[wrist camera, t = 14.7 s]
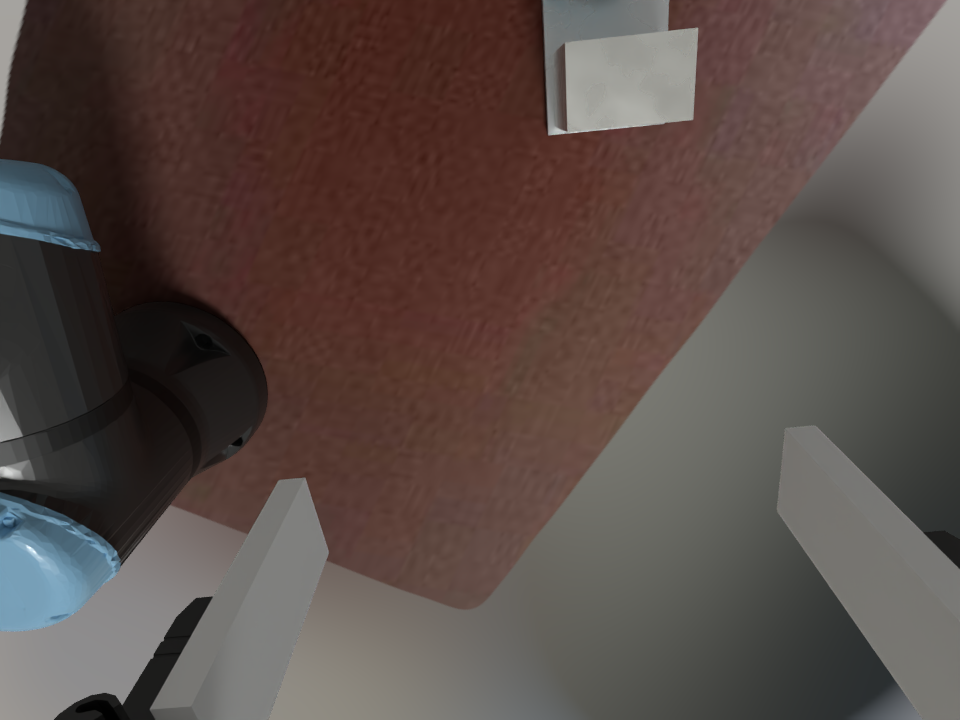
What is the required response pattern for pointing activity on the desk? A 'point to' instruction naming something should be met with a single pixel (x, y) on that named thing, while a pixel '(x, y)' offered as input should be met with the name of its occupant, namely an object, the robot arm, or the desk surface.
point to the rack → (615, 65)
